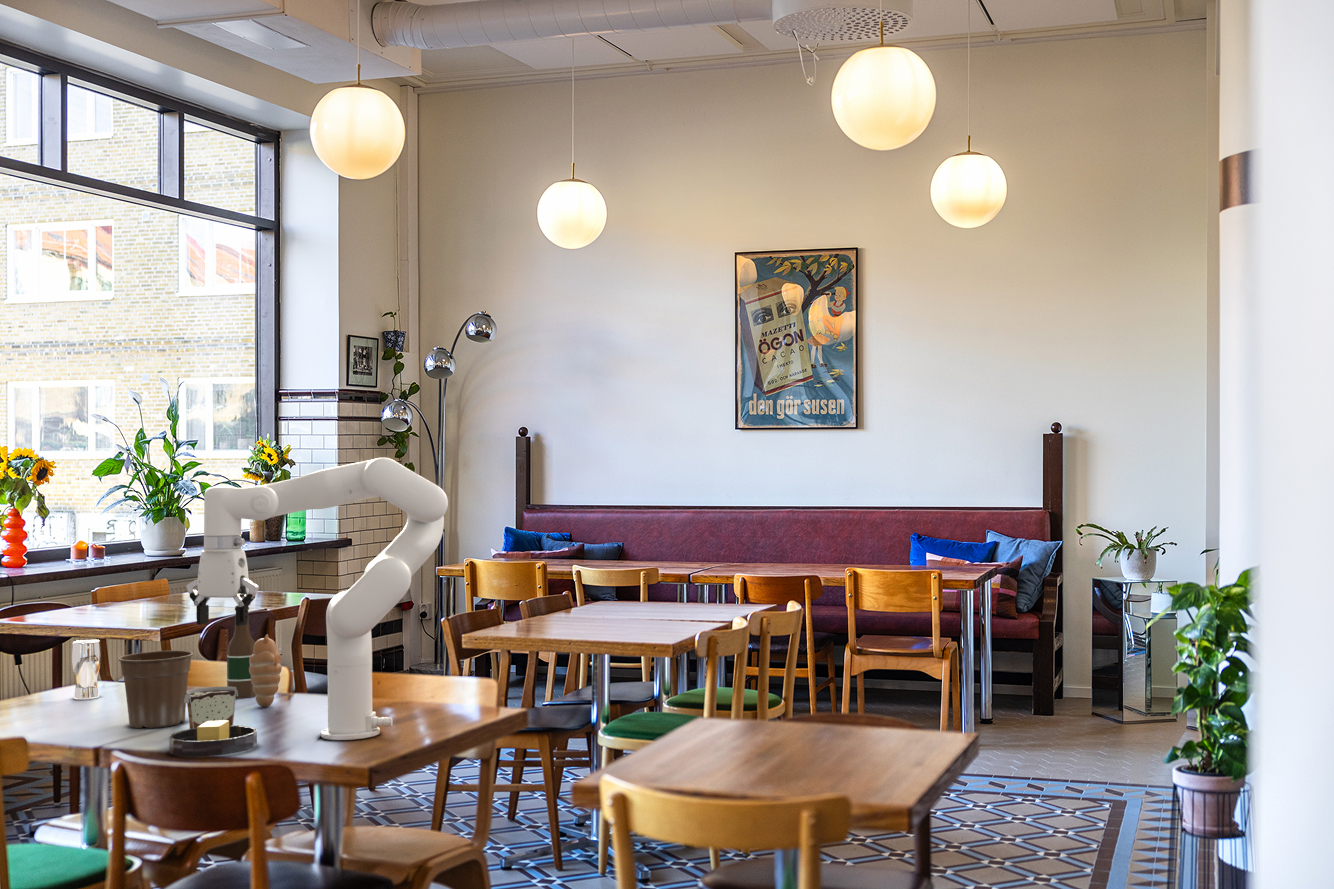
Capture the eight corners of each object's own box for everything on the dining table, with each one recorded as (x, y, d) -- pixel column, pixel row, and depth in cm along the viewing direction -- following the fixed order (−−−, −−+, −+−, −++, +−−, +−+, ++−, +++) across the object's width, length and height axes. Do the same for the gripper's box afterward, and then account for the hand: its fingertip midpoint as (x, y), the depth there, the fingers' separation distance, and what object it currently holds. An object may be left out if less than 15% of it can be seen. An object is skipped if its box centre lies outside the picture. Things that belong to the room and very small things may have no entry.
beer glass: (82, 695, 343) (81, 639, 343) (106, 695, 342) (105, 639, 342) (66, 700, 336) (66, 643, 336) (90, 700, 335) (90, 643, 335)
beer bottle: (230, 694, 340) (230, 604, 341) (260, 693, 341) (260, 603, 342) (223, 699, 333) (223, 607, 334) (254, 698, 334) (253, 606, 334)
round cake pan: (266, 740, 275) (265, 724, 275) (243, 757, 258) (243, 740, 258) (185, 743, 274) (184, 726, 274) (157, 759, 257) (157, 742, 257)
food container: (223, 728, 290) (223, 684, 291) (238, 731, 286) (238, 686, 287) (173, 737, 281) (172, 691, 281) (187, 740, 277) (187, 694, 277)
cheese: (229, 743, 270) (229, 720, 270) (219, 750, 263) (219, 726, 263) (207, 744, 269) (207, 720, 269) (197, 751, 262) (197, 726, 262)
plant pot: (138, 733, 286) (137, 661, 287) (106, 725, 297) (106, 656, 298) (206, 722, 298) (205, 653, 299) (173, 715, 309) (173, 648, 310)
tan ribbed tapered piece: (281, 709, 315) (280, 636, 316) (247, 711, 313) (247, 637, 314) (282, 703, 324) (282, 632, 325) (250, 705, 322) (250, 633, 323)
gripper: (267, 543, 273) (267, 623, 273) (199, 543, 278) (198, 622, 278) (246, 545, 266) (246, 627, 265) (176, 544, 271) (176, 625, 270)
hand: (222, 624), depth 271 cm, fingers open, 9 cm apart
